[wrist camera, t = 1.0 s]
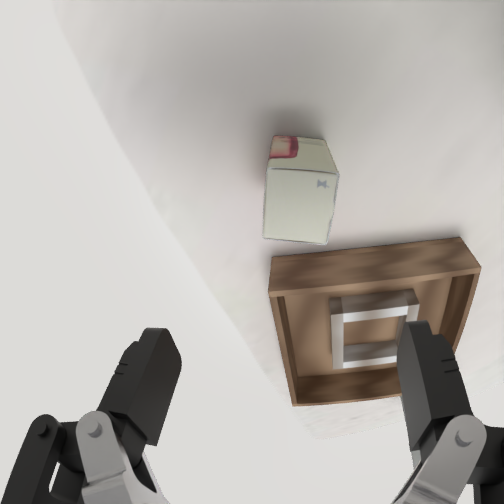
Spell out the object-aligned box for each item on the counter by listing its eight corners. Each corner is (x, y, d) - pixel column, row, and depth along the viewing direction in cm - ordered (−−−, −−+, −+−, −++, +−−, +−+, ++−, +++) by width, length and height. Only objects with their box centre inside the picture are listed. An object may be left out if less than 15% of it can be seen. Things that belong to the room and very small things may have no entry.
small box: (272, 134, 24) (264, 164, 18) (326, 139, 24) (340, 172, 17) (268, 192, 27) (260, 241, 21) (319, 196, 27) (328, 247, 20)
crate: (460, 237, 27) (481, 267, 23) (431, 358, 37) (440, 388, 33) (271, 257, 31) (268, 291, 27) (294, 374, 41) (292, 406, 37)
